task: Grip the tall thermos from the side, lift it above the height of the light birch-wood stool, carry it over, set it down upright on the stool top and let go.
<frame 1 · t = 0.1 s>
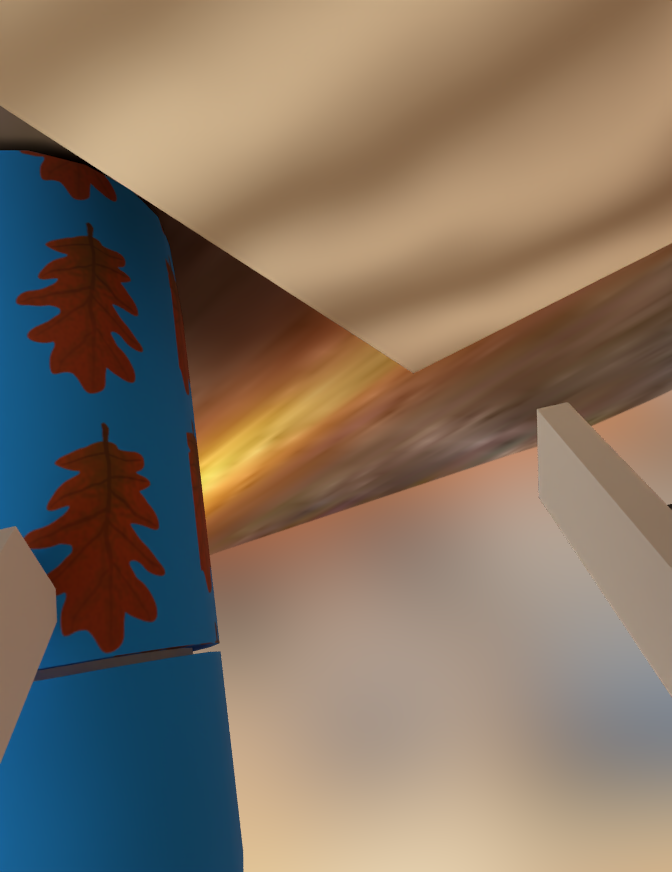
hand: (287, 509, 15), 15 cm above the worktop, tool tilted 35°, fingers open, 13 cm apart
thermos: (42, 245, 25), on the worktop
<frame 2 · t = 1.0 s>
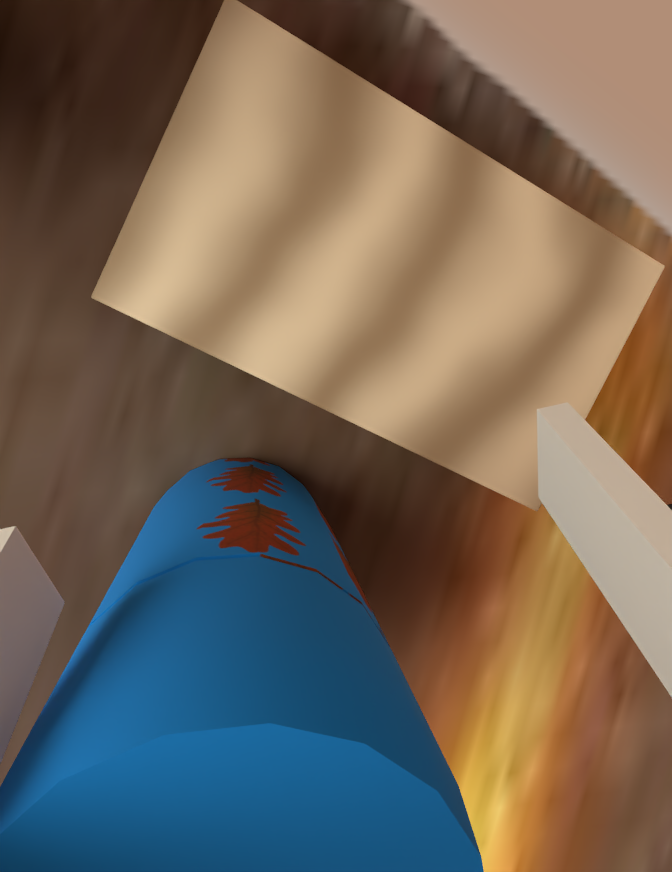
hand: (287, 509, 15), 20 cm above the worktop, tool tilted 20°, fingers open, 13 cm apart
stool: (367, 293, 34), on the worktop
thermos: (238, 540, 35), on the worktop, touching gripper
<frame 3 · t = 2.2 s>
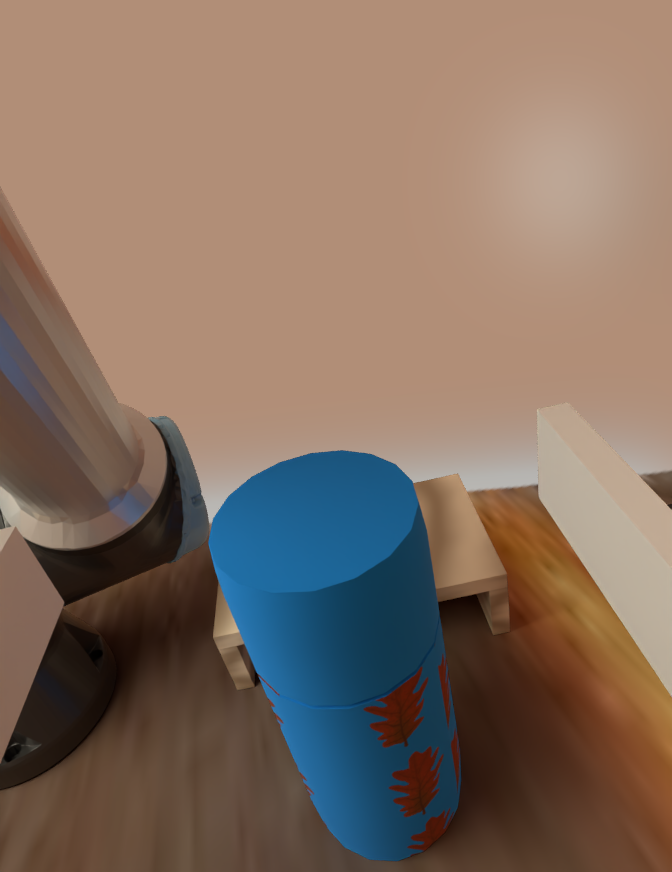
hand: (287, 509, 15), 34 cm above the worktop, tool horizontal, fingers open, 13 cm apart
stool: (362, 599, 56), on the worktop
thermos: (387, 779, 42), on the worktop
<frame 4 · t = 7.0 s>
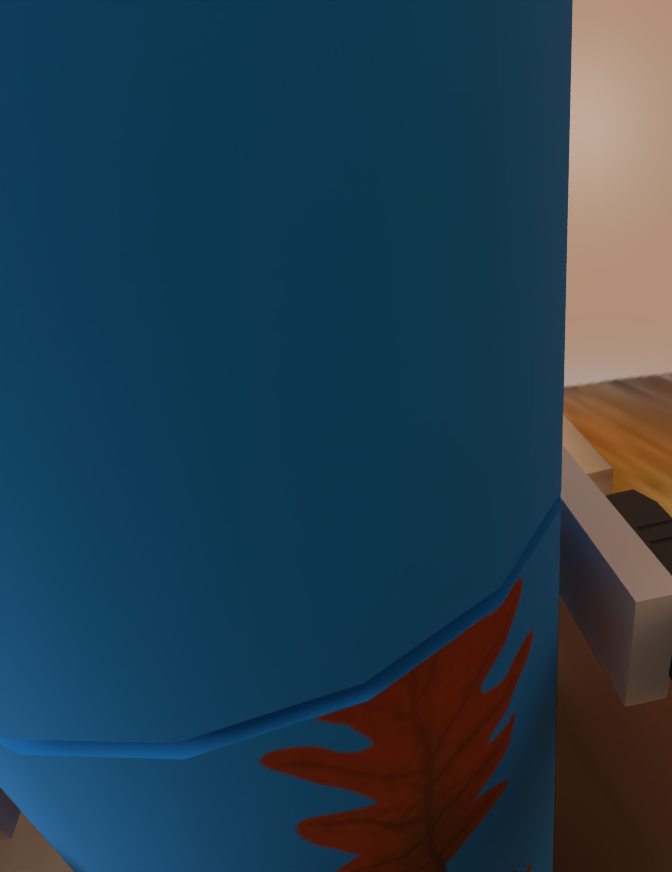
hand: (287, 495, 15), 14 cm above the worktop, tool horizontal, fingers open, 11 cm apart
stool: (340, 544, 33), on the worktop
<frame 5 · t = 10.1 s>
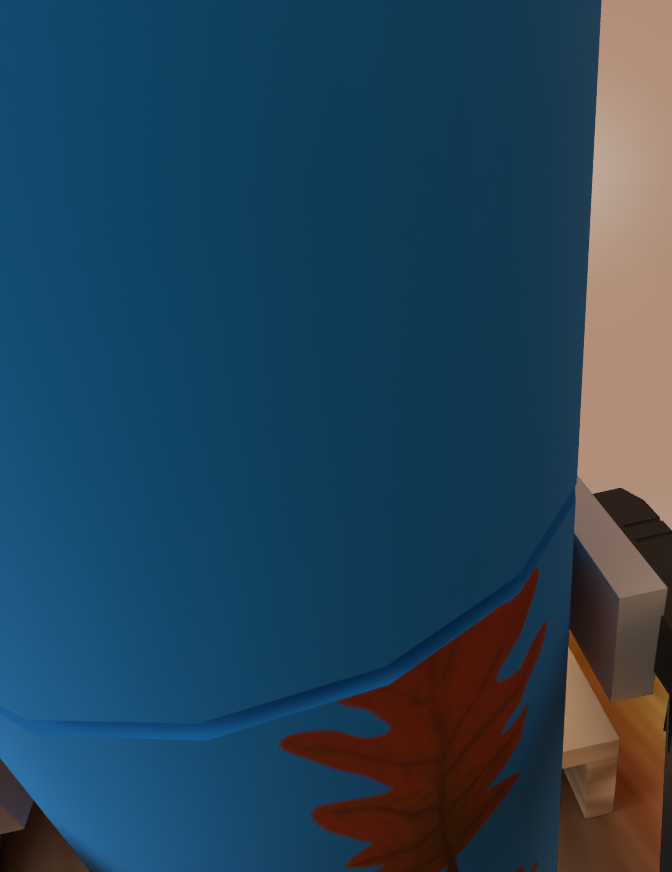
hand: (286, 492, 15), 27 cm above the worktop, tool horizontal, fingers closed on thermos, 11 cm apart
stool: (373, 737, 37), on the worktop
when the fingers open (22 cm above the worktop, at t = 13.0 s): thermos drops 1 cm, resting on stool.
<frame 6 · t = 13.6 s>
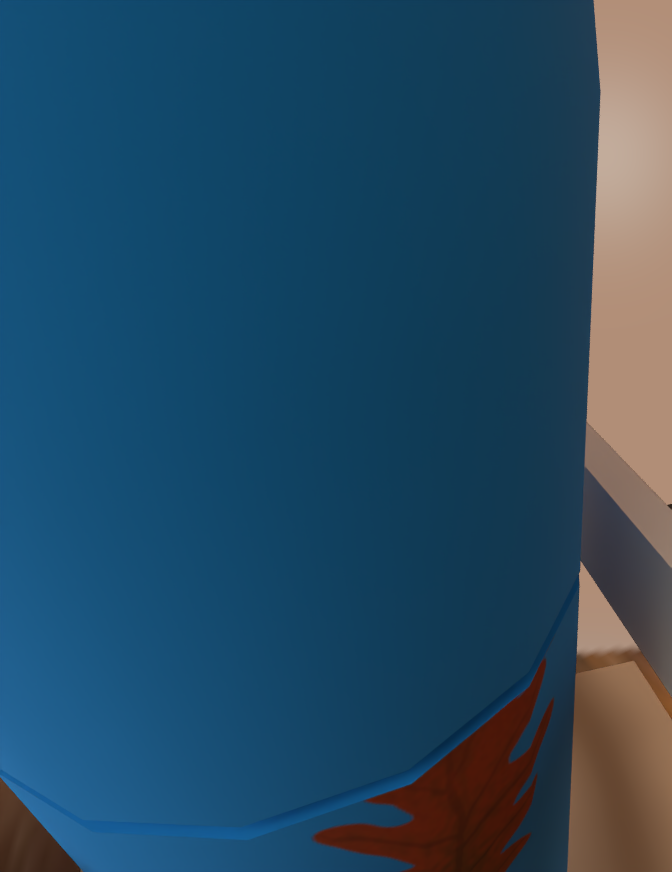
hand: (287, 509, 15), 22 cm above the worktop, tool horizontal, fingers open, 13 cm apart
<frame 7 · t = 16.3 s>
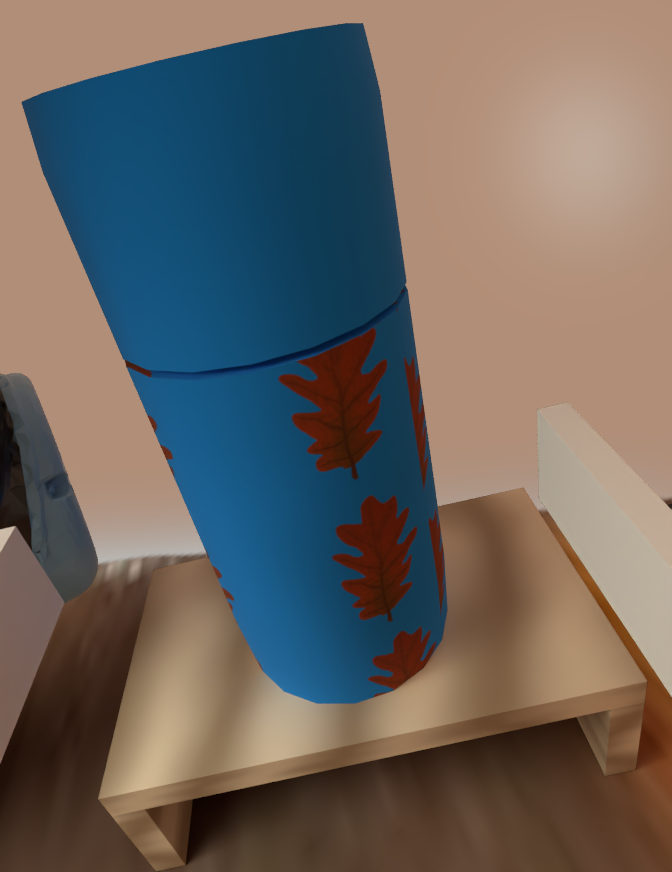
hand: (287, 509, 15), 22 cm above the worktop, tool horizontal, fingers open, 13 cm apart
stool: (372, 693, 34), on the worktop
thermos: (348, 616, 31), point 7 cm above the worktop, touching stool
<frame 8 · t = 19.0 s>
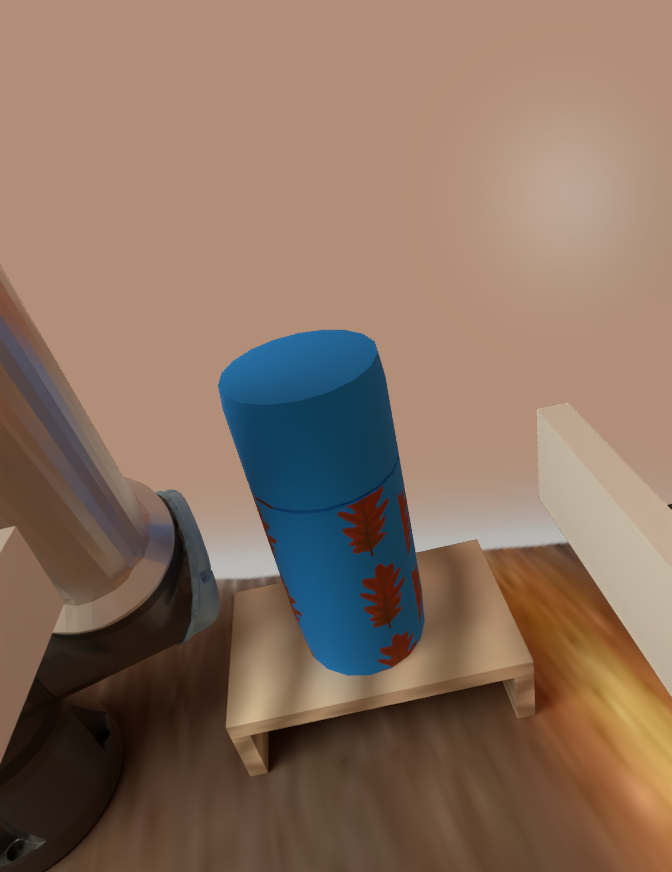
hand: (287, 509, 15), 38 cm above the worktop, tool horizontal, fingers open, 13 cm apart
stool: (378, 673, 54), on the worktop
thermos: (364, 624, 50), point 7 cm above the worktop, touching stool
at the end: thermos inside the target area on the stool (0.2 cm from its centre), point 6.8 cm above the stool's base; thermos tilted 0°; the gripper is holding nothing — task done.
